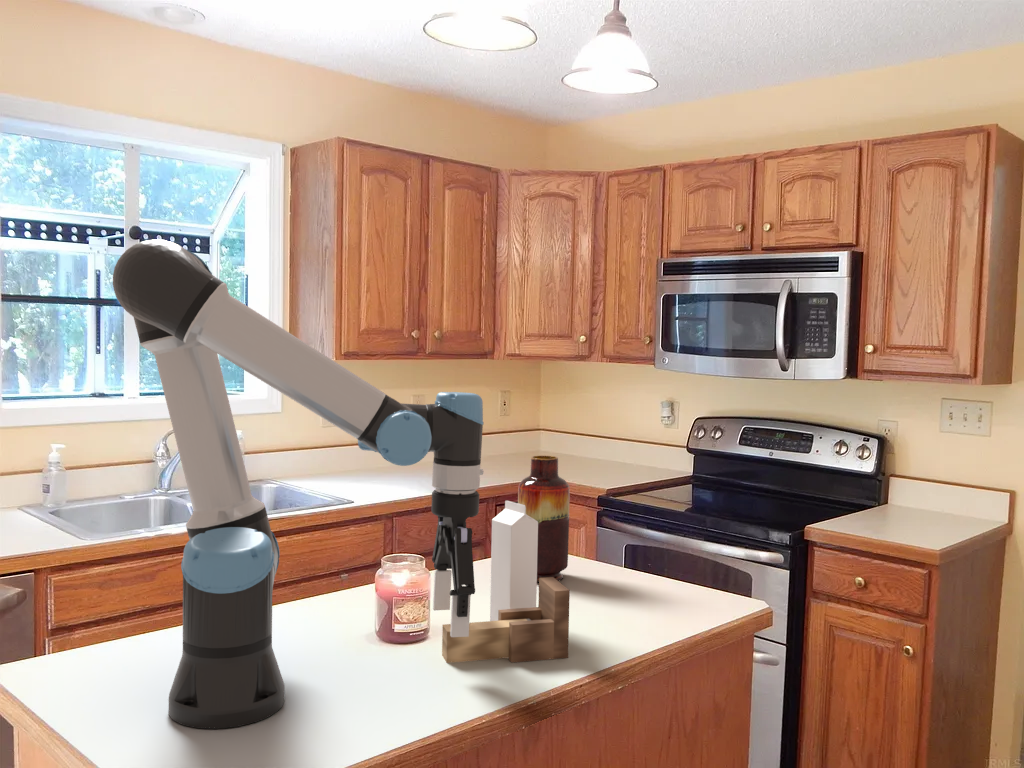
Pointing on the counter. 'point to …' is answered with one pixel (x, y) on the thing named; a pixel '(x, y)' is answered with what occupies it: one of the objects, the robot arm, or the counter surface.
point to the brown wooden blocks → (540, 625)
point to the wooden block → (478, 641)
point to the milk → (513, 560)
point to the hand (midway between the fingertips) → (450, 622)
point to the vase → (548, 514)
